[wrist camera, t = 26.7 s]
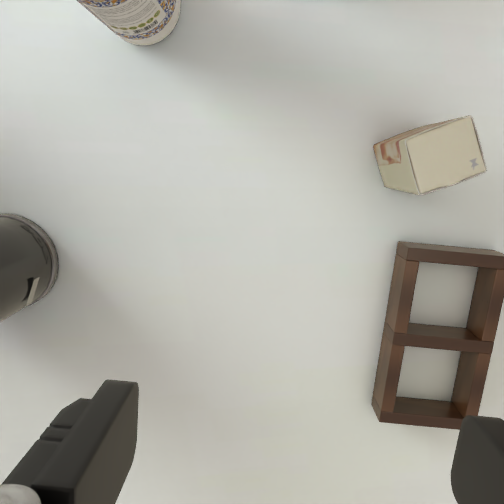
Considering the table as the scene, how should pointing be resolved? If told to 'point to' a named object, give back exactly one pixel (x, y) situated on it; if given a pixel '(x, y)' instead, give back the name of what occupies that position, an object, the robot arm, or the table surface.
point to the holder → (438, 336)
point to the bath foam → (136, 18)
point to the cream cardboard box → (431, 157)
